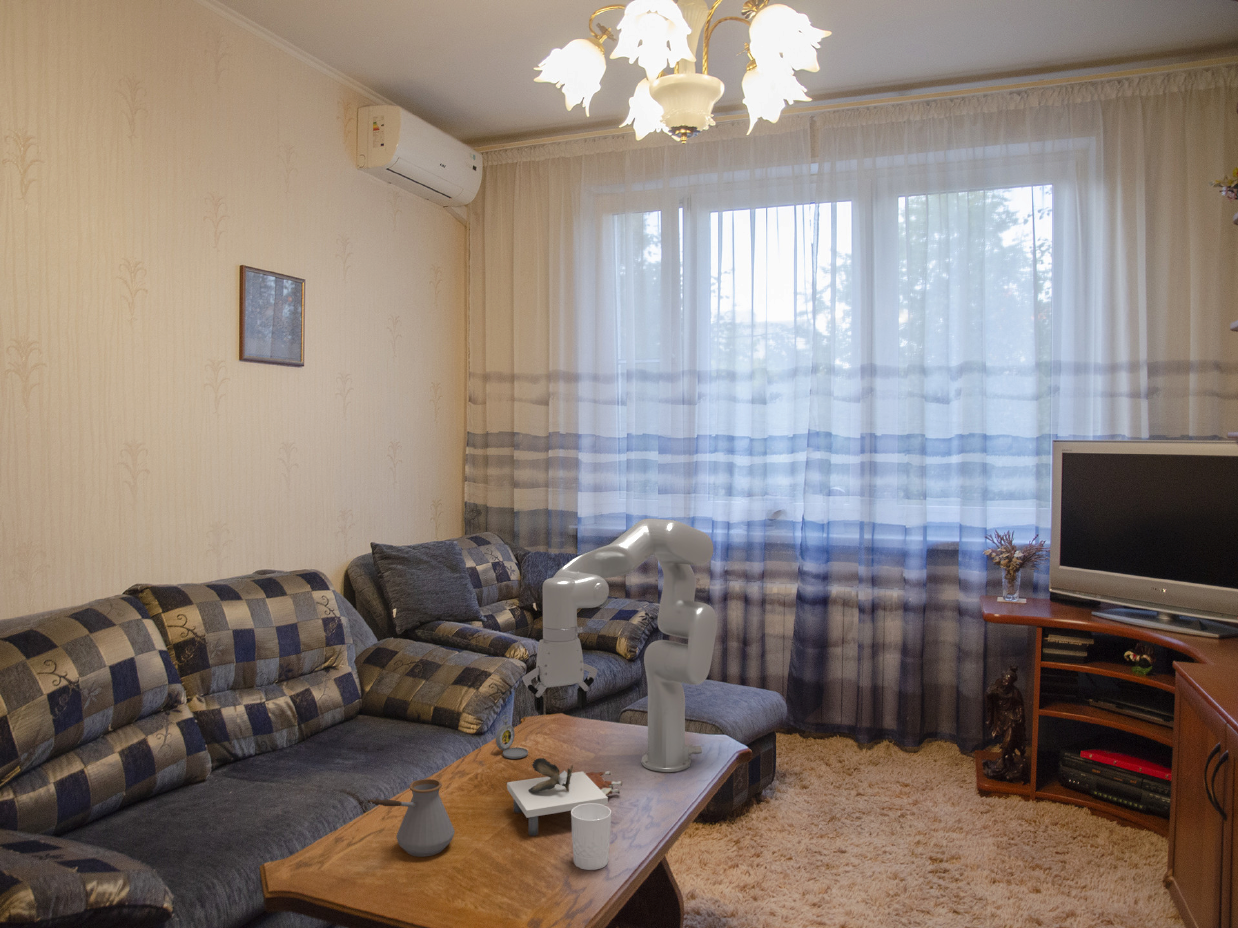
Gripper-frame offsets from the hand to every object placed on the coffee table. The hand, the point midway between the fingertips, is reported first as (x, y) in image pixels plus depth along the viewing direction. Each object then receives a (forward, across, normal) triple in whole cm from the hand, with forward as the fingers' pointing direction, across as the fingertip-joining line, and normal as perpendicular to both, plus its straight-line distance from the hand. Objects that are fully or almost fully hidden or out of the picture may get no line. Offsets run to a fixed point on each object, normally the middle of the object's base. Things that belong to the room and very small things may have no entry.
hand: (560, 710), depth 190 cm
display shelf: (+23, +2, +3) cm, 23 cm away
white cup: (+23, +2, +25) cm, 34 cm away
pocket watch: (+23, +1, -38) cm, 45 cm away
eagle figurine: (+17, +3, +2) cm, 17 cm away
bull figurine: (+21, -16, -5) cm, 27 cm away
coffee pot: (+22, +35, +9) cm, 43 cm away
